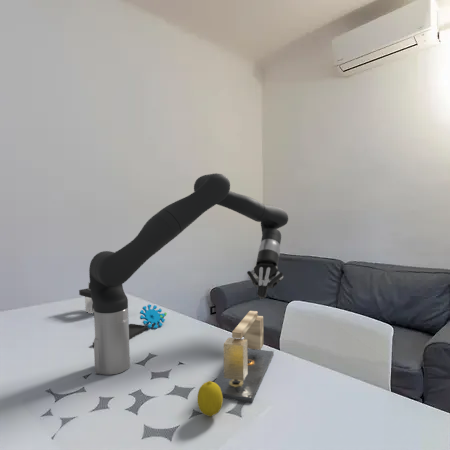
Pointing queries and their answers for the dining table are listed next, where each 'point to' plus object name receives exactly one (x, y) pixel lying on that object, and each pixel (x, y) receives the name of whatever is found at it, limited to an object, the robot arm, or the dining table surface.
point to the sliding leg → (250, 330)
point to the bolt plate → (249, 378)
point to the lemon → (210, 398)
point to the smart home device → (134, 330)
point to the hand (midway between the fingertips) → (261, 297)
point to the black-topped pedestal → (87, 299)
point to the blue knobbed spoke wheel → (152, 316)
